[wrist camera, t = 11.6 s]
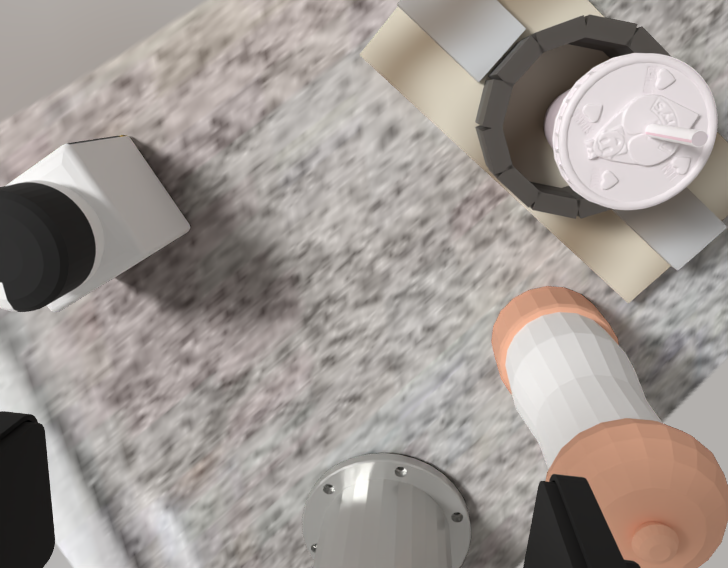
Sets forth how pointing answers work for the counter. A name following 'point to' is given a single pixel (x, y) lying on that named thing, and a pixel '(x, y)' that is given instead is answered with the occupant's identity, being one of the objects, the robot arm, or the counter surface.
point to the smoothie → (633, 130)
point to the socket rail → (542, 121)
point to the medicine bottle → (80, 223)
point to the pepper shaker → (609, 430)
